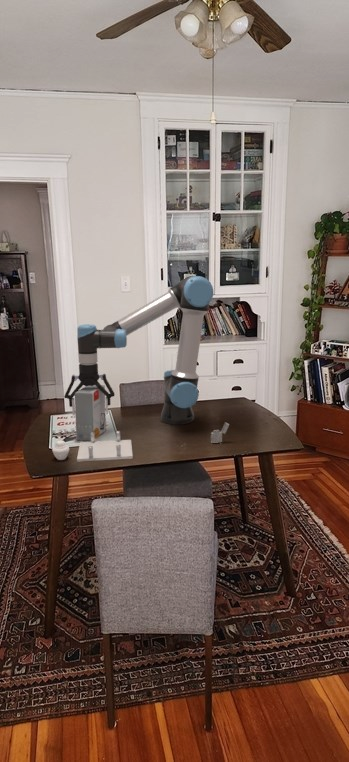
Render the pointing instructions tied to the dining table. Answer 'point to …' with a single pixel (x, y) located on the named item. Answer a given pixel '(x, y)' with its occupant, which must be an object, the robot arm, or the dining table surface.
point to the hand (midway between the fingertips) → (90, 413)
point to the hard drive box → (90, 412)
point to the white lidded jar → (60, 450)
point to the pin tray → (105, 449)
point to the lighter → (218, 434)
